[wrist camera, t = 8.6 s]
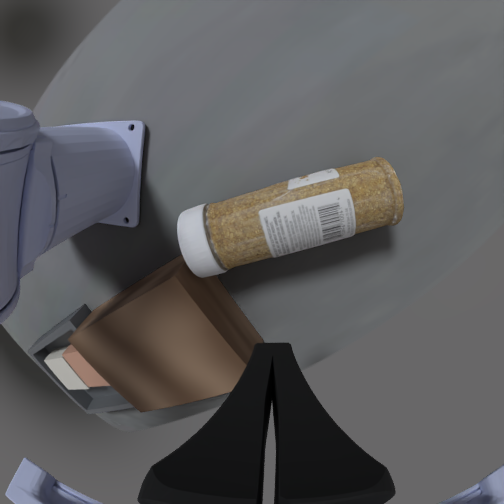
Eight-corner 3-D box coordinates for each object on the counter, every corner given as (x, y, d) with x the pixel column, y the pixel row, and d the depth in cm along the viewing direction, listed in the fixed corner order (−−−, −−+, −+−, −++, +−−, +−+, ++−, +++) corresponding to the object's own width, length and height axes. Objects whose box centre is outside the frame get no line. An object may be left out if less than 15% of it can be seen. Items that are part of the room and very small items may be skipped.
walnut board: (195, 246, 20) (175, 276, 15) (263, 339, 23) (261, 381, 18) (93, 310, 23) (67, 339, 18) (155, 378, 26) (140, 412, 21)
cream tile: (43, 360, 23) (53, 348, 26) (68, 389, 25) (76, 377, 27) (62, 357, 22) (72, 344, 25) (89, 389, 24) (97, 375, 26)
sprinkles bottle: (376, 142, 15) (176, 197, 17) (412, 190, 12) (171, 255, 14) (374, 191, 19) (204, 237, 21) (400, 239, 16) (206, 290, 18)
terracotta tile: (97, 334, 24) (86, 349, 21) (124, 369, 25) (115, 385, 23) (72, 341, 24) (61, 354, 22) (97, 373, 26) (88, 386, 24)
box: (85, 303, 23) (69, 320, 20) (158, 384, 26) (150, 404, 24) (38, 338, 26) (27, 351, 23) (96, 399, 30) (88, 414, 27)
